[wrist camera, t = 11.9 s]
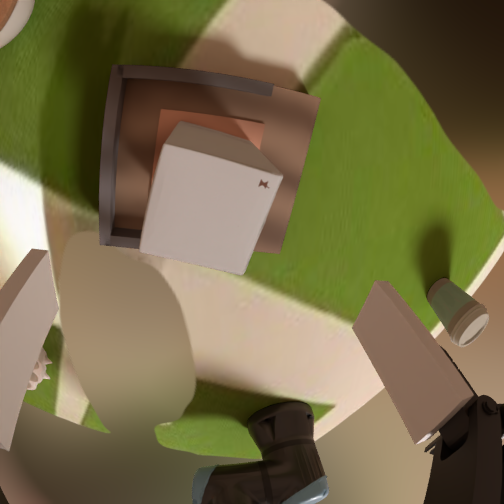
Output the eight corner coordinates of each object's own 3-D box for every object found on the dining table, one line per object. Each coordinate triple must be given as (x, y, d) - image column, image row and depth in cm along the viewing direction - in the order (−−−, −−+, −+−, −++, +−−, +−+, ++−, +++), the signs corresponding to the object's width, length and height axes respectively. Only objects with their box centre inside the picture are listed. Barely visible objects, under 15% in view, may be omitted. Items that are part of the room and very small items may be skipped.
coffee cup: (416, 312, 51) (449, 355, 40) (428, 275, 46) (468, 318, 36) (446, 302, 52) (479, 341, 41) (458, 268, 47) (497, 305, 37)
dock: (273, 241, 38) (283, 262, 33) (111, 224, 33) (99, 244, 29) (310, 97, 29) (328, 99, 25) (125, 68, 24) (112, 64, 20)
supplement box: (178, 118, 26) (163, 137, 15) (252, 140, 28) (289, 175, 17) (157, 189, 29) (135, 253, 18) (227, 208, 31) (245, 278, 20)
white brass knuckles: (-12, 299, 35) (58, 336, 40) (-7, 357, 41) (50, 386, 47) (-20, 312, 32) (53, 351, 38) (-13, 369, 38) (47, 399, 44)
